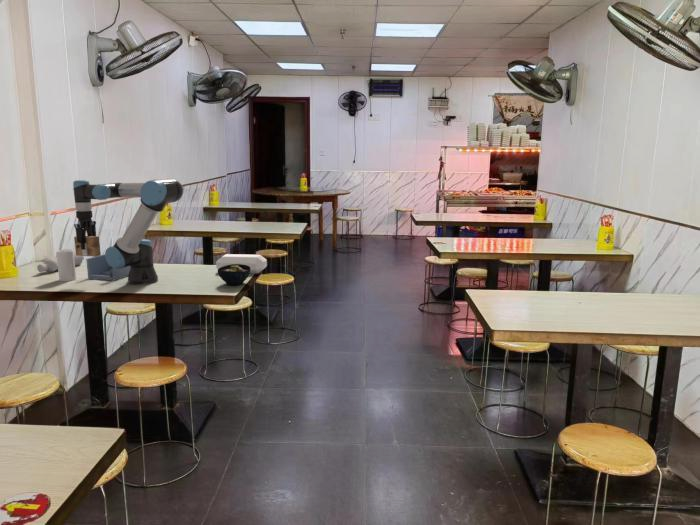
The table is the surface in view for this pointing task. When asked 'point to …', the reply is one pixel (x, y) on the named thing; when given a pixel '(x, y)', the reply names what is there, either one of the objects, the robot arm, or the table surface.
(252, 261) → the crystal
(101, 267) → the cabinet
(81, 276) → the table surface
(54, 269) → the bottle
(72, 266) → the cup
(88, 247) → the tan wooden block
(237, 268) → the bowl
